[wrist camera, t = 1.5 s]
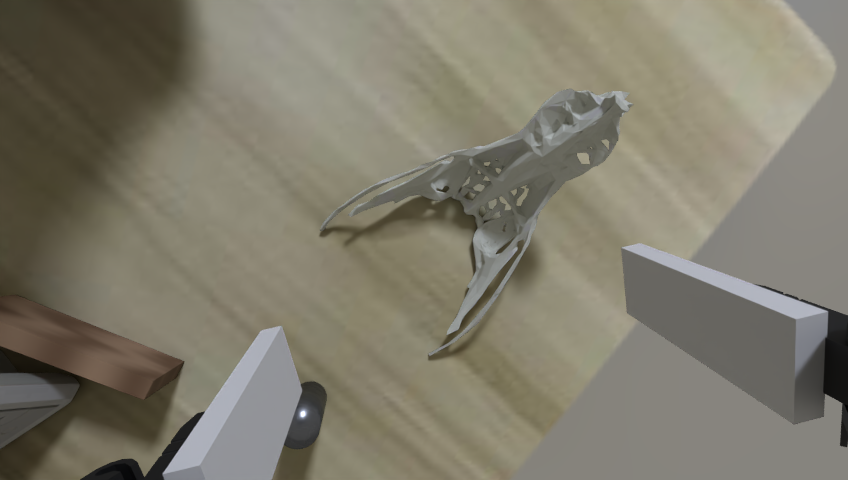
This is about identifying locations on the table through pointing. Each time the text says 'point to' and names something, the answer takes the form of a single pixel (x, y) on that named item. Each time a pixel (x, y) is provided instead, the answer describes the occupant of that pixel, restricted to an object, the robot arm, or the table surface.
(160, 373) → the chute
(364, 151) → the table surface
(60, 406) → the digital clock
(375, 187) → the skeletal model
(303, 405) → the posts
